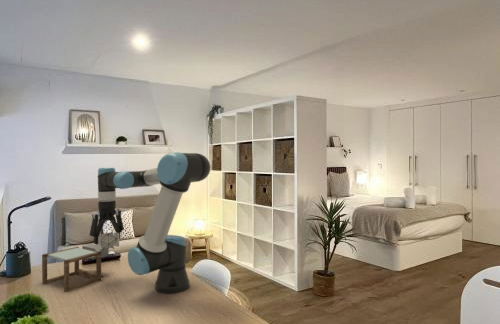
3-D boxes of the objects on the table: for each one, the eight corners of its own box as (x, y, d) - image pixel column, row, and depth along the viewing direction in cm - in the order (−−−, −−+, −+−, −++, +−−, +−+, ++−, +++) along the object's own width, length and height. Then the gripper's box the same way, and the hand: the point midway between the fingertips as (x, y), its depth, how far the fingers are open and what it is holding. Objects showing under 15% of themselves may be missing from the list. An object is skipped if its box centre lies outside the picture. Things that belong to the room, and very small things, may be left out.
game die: (110, 257, 155) (111, 243, 150) (93, 251, 155) (93, 236, 150) (120, 244, 162) (121, 229, 157) (104, 238, 163) (105, 223, 157)
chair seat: (109, 255, 166) (109, 247, 166) (67, 267, 147) (66, 258, 147) (90, 251, 174) (90, 243, 174) (47, 261, 156) (47, 253, 156)
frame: (101, 280, 160) (101, 252, 160) (65, 292, 145) (65, 261, 145) (77, 273, 170) (77, 246, 170) (42, 283, 155) (42, 254, 155)
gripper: (121, 197, 168) (122, 242, 167) (80, 202, 149) (80, 253, 149) (131, 198, 164) (132, 244, 163) (90, 203, 145) (90, 255, 145)
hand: (107, 248), depth 156 cm, fingers closed on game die, 9 cm apart
